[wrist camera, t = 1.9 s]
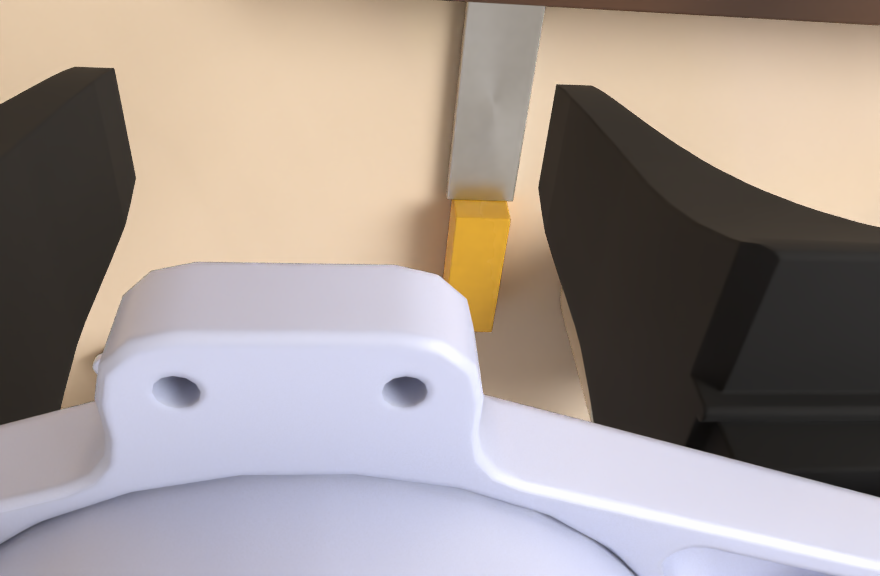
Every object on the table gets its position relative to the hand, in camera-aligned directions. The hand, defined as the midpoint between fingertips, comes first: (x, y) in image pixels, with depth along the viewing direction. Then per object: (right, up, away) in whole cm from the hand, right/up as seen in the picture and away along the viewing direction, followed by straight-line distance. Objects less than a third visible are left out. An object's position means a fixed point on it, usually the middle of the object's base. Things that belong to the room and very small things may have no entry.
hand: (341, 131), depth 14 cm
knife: (+3, +1, +13) cm, 13 cm away
